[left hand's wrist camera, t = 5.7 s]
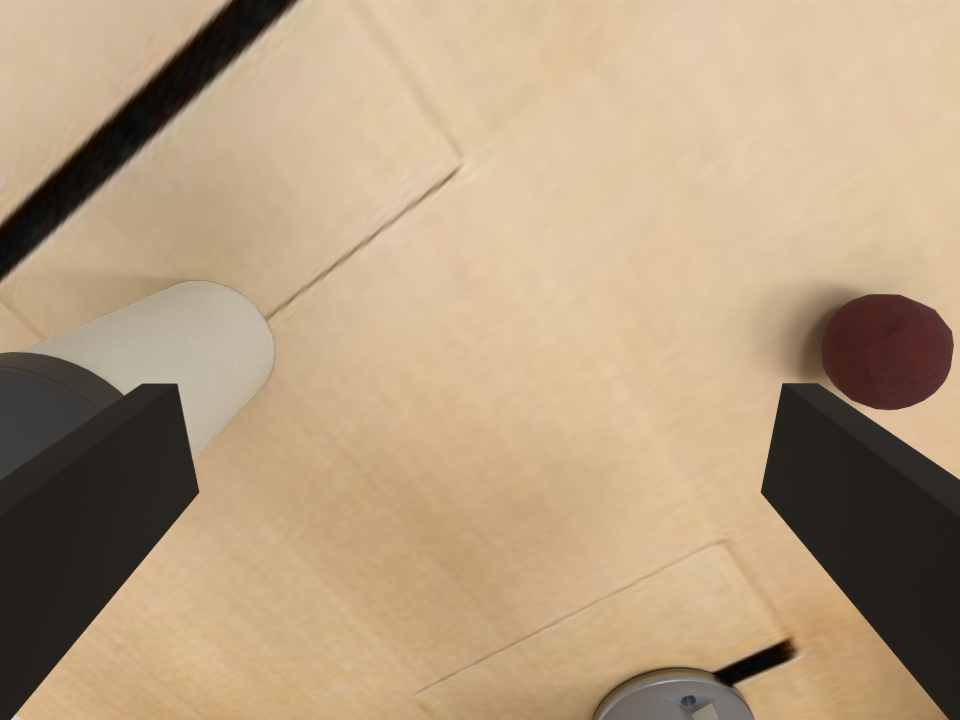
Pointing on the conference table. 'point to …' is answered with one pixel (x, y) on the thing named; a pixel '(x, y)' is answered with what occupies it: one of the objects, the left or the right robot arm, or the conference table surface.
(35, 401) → the lid
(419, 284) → the conference table surface
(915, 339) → the potato
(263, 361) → the jar
